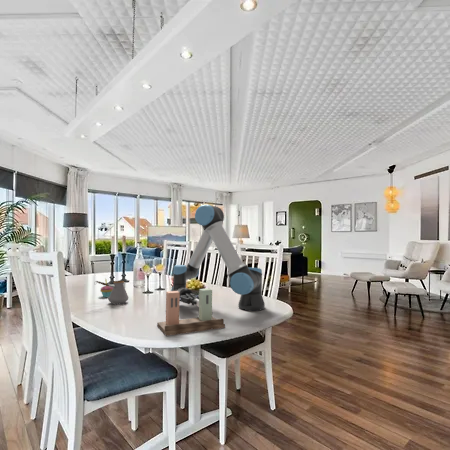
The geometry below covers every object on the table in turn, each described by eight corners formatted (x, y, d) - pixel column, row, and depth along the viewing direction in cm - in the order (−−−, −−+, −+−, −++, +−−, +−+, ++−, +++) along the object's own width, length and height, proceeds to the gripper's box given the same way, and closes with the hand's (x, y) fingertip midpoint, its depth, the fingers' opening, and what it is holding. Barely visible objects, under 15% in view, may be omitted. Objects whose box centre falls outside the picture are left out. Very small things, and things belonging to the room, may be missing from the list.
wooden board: (211, 319, 149) (211, 311, 149) (225, 327, 135) (225, 319, 135) (157, 325, 137) (157, 318, 137) (166, 335, 123) (166, 327, 123)
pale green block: (208, 317, 145) (208, 288, 145) (212, 319, 141) (212, 289, 141) (198, 318, 143) (199, 289, 143) (202, 321, 139) (202, 290, 139)
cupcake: (97, 296, 198) (97, 278, 198) (108, 294, 205) (109, 277, 205) (105, 298, 193) (105, 279, 194) (116, 296, 200) (117, 278, 201)
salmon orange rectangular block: (176, 321, 138) (176, 290, 138) (179, 324, 134) (179, 292, 134) (165, 322, 135) (166, 291, 136) (168, 325, 132) (168, 293, 132)
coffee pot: (120, 300, 189) (121, 276, 189) (132, 302, 182) (132, 277, 183) (88, 306, 171) (89, 280, 172) (100, 309, 165) (101, 282, 165)
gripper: (195, 300, 170) (212, 310, 149) (173, 302, 164) (187, 313, 143) (195, 287, 170) (212, 295, 149) (173, 289, 165) (187, 297, 143)
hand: (200, 304), depth 146 cm, fingers closed
